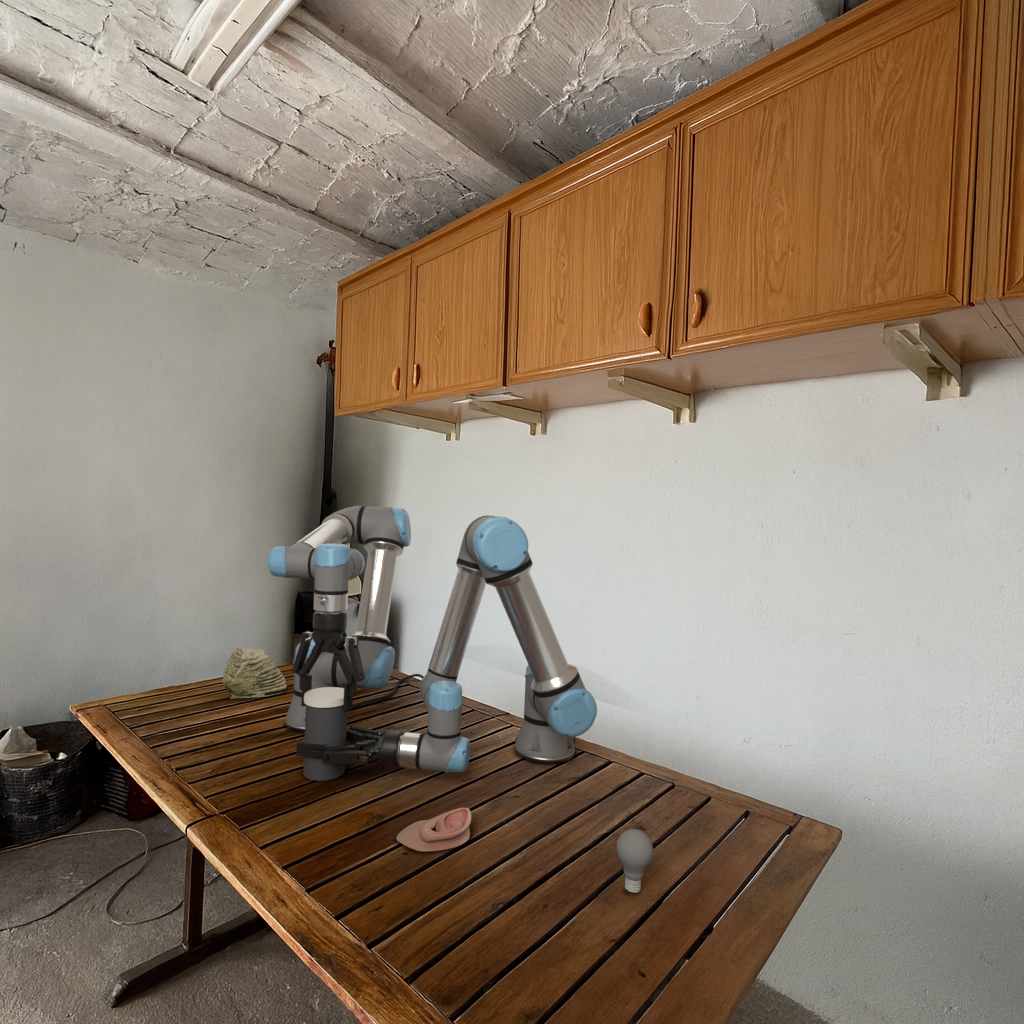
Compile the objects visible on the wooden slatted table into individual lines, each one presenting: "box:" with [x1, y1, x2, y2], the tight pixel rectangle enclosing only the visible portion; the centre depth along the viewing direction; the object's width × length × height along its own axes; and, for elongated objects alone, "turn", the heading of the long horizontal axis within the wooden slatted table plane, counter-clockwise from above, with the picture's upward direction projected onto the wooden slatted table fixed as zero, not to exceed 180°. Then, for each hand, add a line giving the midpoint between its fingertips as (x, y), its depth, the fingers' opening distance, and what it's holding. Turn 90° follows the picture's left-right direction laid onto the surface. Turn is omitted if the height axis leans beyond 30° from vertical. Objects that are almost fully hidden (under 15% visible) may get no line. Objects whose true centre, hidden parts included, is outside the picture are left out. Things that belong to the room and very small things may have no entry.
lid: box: [304, 687, 344, 708], centre depth 145 cm, size 10×10×2 cm
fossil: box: [222, 646, 288, 699], centre depth 198 cm, size 9×18×15 cm, turn 132°
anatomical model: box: [395, 807, 472, 853], centre depth 120 cm, size 13×4×12 cm
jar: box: [302, 705, 348, 782], centre depth 146 cm, size 9×9×18 cm
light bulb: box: [615, 828, 654, 894], centre depth 106 cm, size 6×6×10 cm
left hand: (326, 707), depth 145 cm, fingers open, 10 cm apart
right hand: (306, 740), depth 146 cm, fingers closed on jar, 9 cm apart
